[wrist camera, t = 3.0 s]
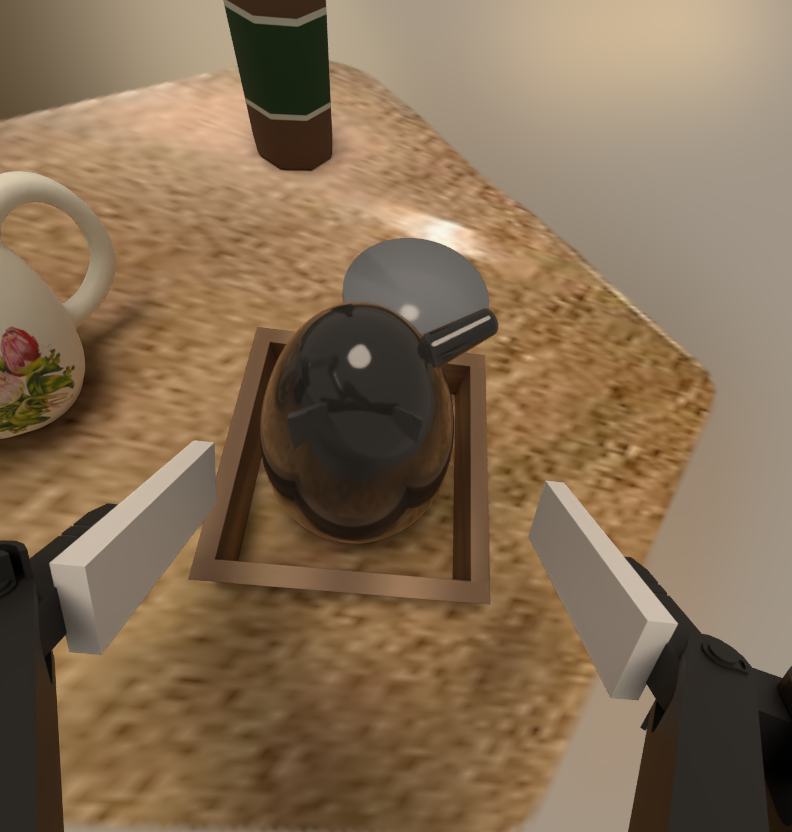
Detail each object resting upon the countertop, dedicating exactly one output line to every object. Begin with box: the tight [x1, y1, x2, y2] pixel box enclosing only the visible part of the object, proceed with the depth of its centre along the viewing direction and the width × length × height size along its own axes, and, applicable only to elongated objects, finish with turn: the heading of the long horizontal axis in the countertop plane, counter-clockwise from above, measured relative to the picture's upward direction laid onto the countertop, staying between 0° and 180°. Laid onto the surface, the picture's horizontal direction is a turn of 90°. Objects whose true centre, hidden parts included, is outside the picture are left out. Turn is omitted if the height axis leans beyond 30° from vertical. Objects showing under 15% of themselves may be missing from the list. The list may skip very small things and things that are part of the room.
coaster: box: [343, 238, 489, 334], centre depth 32 cm, size 12×12×1 cm
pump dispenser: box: [260, 302, 498, 543], centre depth 19 cm, size 10×10×15 cm
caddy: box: [188, 327, 490, 604], centre depth 24 cm, size 15×15×4 cm
